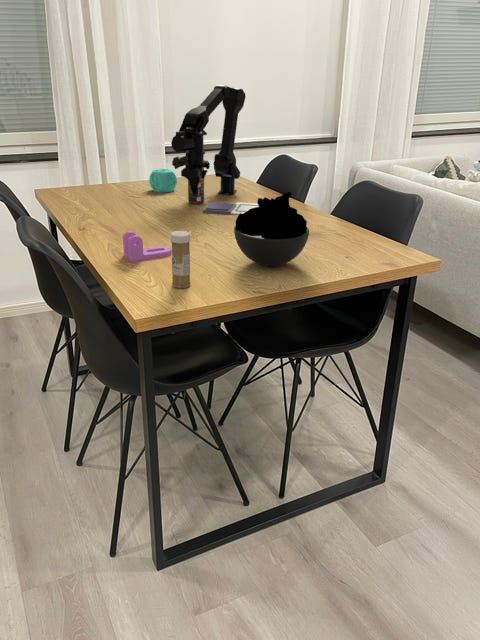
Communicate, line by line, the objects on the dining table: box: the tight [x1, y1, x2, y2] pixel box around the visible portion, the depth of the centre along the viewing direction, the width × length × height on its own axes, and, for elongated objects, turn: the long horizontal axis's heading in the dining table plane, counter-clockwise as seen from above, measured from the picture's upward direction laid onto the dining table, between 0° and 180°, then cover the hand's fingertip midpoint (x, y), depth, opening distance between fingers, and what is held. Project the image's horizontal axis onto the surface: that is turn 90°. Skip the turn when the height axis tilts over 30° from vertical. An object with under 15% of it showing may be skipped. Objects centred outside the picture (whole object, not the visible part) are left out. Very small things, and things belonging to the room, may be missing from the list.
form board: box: [230, 201, 259, 216], centre depth 211 cm, size 16×14×1 cm
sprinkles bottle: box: [170, 230, 191, 289], centre depth 140 cm, size 5×5×13 cm
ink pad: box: [202, 201, 237, 215], centre depth 210 cm, size 11×10×1 cm
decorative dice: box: [148, 168, 178, 193], centre depth 235 cm, size 8×8×8 cm
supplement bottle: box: [187, 172, 205, 205], centre depth 217 cm, size 6×6×11 cm
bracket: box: [122, 230, 172, 262], centre depth 162 cm, size 13×6×7 cm, turn 119°
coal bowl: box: [233, 191, 310, 267], centre depth 155 cm, size 20×20×19 cm
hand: (196, 191), depth 217 cm, fingers closed on supplement bottle, 6 cm apart
